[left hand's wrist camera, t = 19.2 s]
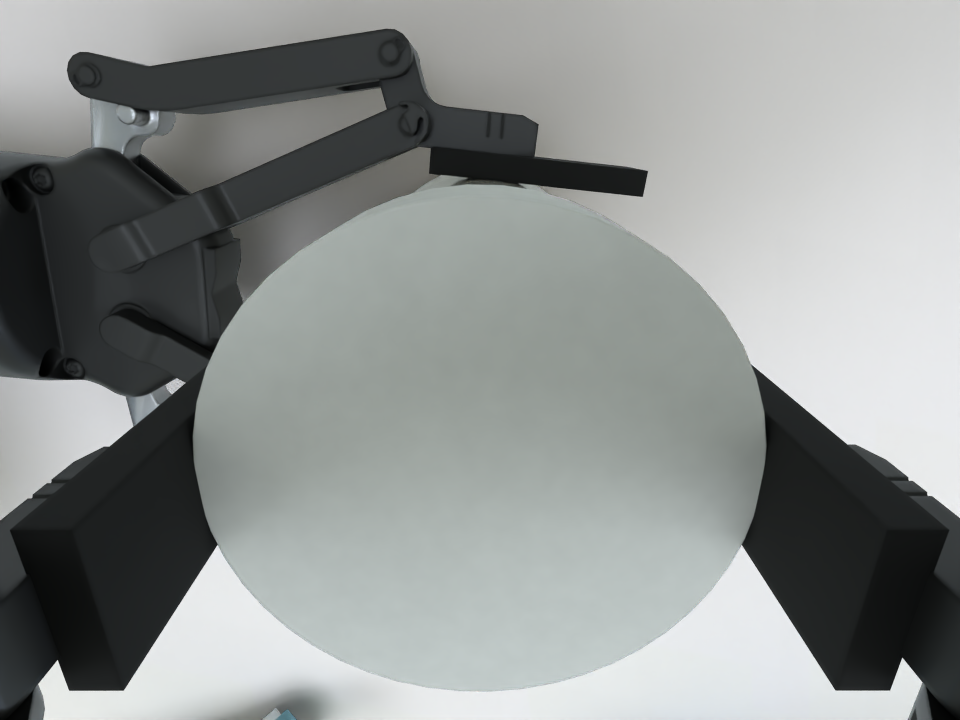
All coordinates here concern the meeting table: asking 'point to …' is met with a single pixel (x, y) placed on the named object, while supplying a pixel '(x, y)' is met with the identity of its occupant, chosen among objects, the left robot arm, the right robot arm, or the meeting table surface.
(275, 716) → the toy gun
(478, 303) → the lid
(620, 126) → the meeting table surface
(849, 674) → the left robot arm
